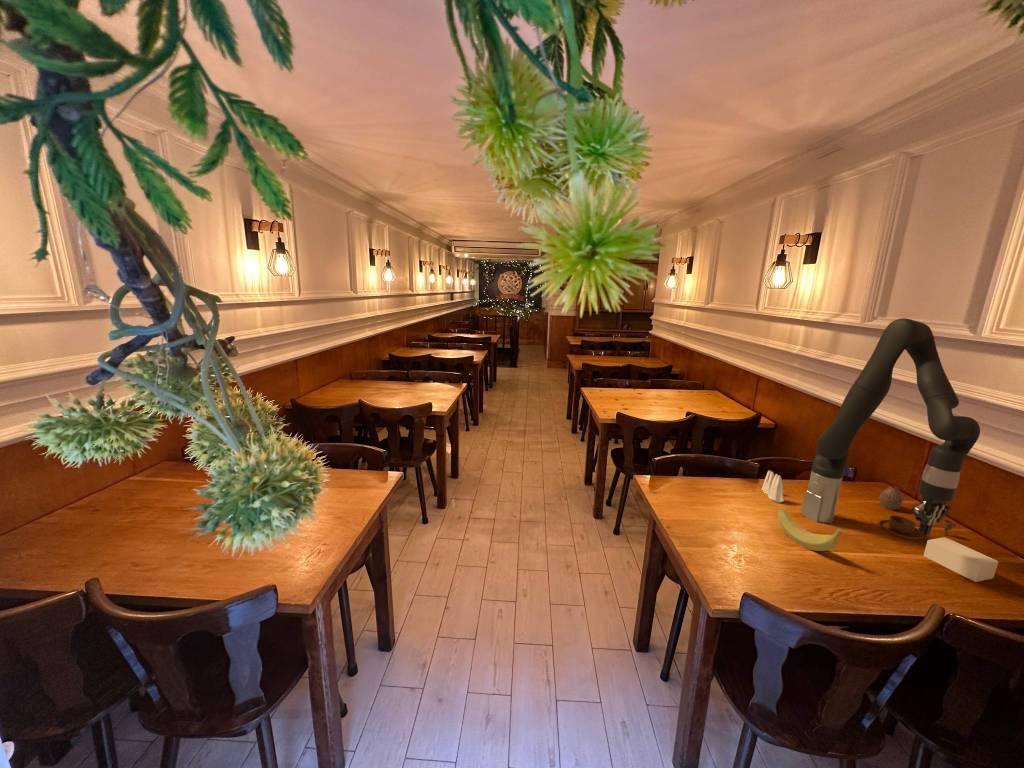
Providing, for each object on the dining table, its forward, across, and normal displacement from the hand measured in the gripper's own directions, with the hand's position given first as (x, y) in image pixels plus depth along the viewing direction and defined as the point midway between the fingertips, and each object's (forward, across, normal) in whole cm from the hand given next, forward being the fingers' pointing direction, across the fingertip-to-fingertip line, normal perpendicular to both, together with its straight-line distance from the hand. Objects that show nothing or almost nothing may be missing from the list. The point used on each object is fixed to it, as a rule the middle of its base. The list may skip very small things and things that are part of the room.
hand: (923, 534), depth 131 cm
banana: (+10, -26, +24) cm, 36 cm away
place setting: (+12, +22, +13) cm, 28 cm away
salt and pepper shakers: (+12, -7, +46) cm, 48 cm away
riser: (+11, +13, -4) cm, 17 cm away
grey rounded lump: (+11, +34, +30) cm, 47 cm away
